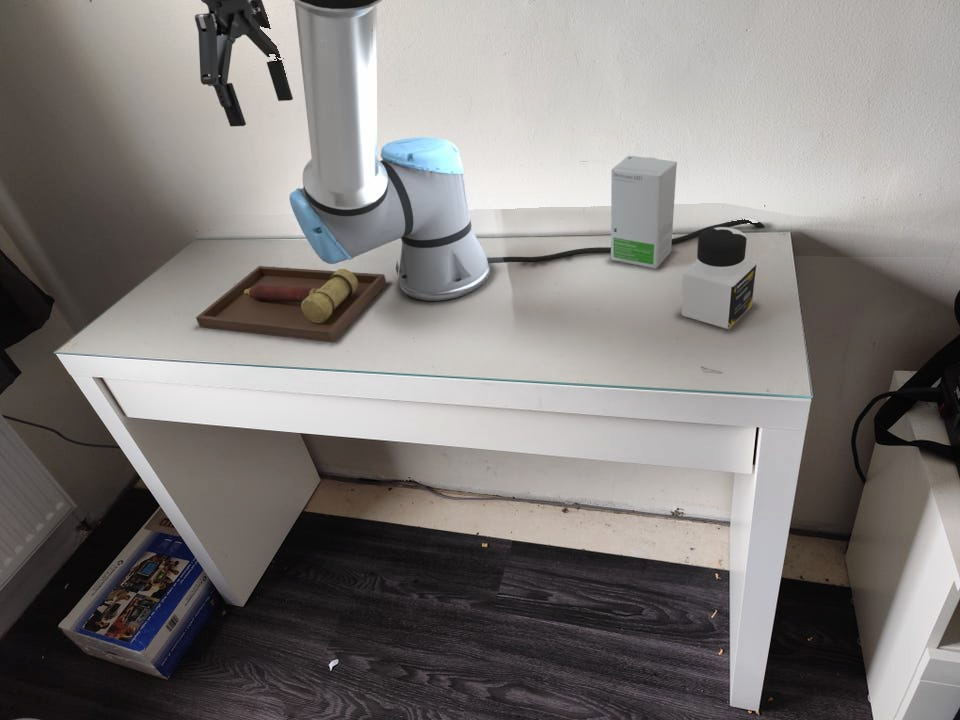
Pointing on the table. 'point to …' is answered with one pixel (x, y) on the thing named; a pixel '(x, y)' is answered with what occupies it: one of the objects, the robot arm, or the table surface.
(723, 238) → the medicine bottle
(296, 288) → the gavel
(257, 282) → the tray
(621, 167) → the cosmetic box
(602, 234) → the table surface
